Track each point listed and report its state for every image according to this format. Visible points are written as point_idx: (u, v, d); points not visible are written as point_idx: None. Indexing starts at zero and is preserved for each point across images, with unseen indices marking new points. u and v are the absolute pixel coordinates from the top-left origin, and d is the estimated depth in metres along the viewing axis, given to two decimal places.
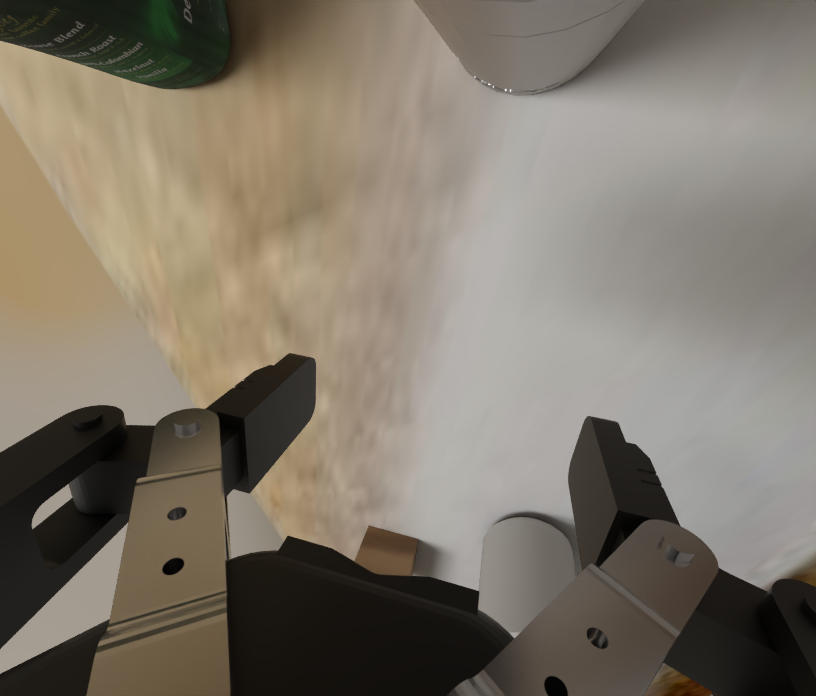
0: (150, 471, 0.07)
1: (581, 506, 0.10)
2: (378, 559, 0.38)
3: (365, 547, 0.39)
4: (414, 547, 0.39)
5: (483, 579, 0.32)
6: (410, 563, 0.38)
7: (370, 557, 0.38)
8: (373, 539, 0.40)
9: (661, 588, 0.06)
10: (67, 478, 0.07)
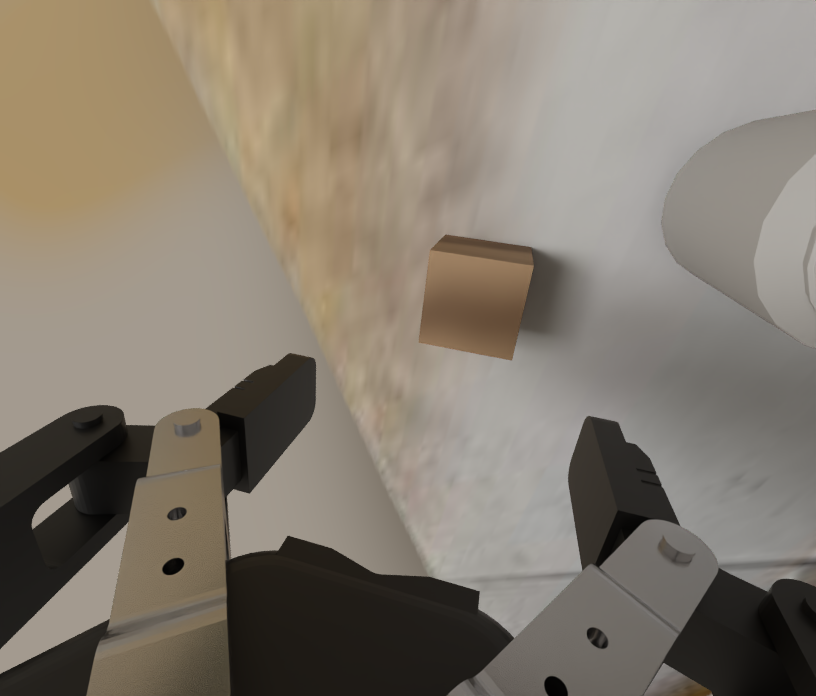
0: (150, 471, 0.07)
1: (581, 506, 0.10)
2: (474, 249, 0.22)
3: (447, 242, 0.23)
4: (528, 250, 0.23)
5: (718, 177, 0.16)
6: (530, 256, 0.22)
7: (459, 247, 0.22)
8: (457, 240, 0.23)
9: (662, 588, 0.06)
10: (67, 478, 0.07)
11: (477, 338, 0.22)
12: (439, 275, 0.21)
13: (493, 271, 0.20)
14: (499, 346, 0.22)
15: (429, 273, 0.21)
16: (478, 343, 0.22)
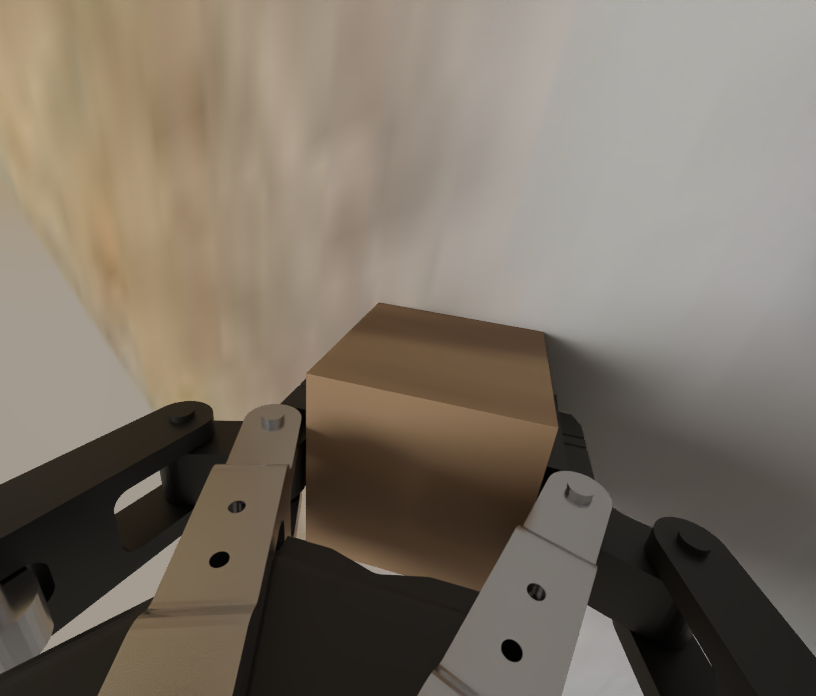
0: (230, 458, 0.08)
1: None
2: (420, 358, 0.10)
3: (368, 333, 0.11)
4: (540, 345, 0.11)
5: None
6: (544, 373, 0.10)
7: (388, 351, 0.10)
8: (393, 323, 0.12)
9: (574, 531, 0.07)
10: (151, 469, 0.08)
11: (427, 556, 0.10)
12: (334, 428, 0.09)
13: (458, 430, 0.08)
14: (476, 576, 0.10)
15: (311, 421, 0.09)
16: (430, 564, 0.10)
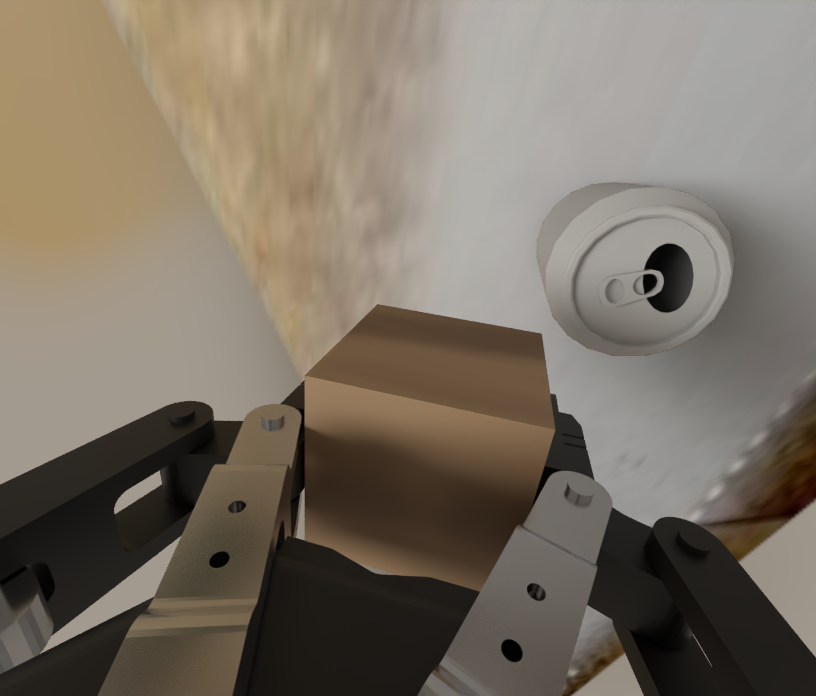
0: (230, 458, 0.08)
1: None
2: (418, 360, 0.10)
3: (367, 335, 0.11)
4: (538, 346, 0.11)
5: (548, 230, 0.23)
6: (542, 375, 0.10)
7: (386, 353, 0.10)
8: (392, 325, 0.12)
9: (574, 531, 0.07)
10: (151, 470, 0.08)
11: (425, 557, 0.10)
12: (332, 430, 0.09)
13: (455, 432, 0.08)
14: (474, 577, 0.10)
15: (310, 423, 0.09)
16: (428, 566, 0.10)
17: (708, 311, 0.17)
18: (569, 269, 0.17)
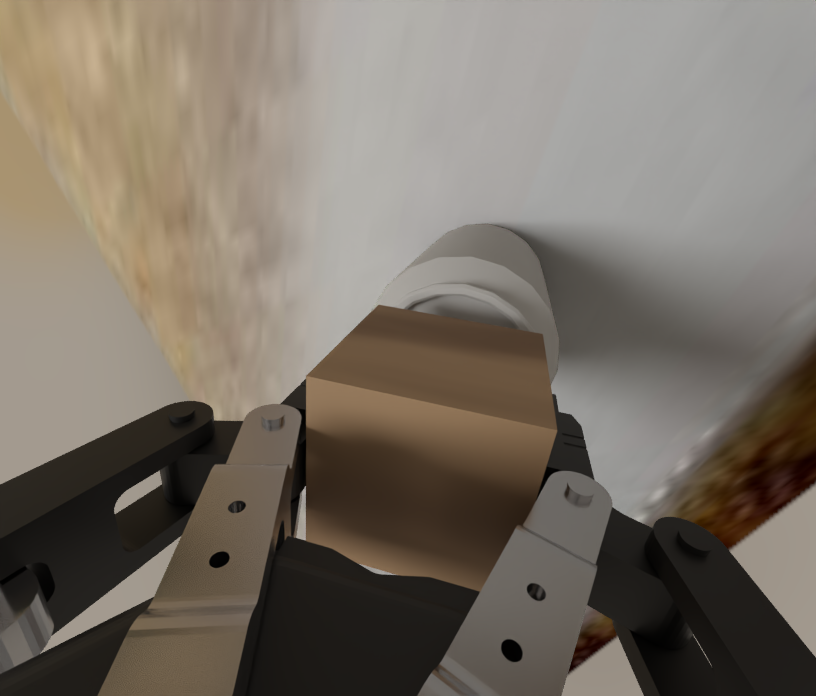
0: (230, 459, 0.08)
1: None
2: (420, 360, 0.10)
3: (368, 336, 0.11)
4: (539, 347, 0.11)
5: None
6: (543, 375, 0.10)
7: (388, 354, 0.10)
8: (393, 325, 0.12)
9: (574, 530, 0.07)
10: (151, 469, 0.08)
11: (427, 558, 0.10)
12: (334, 430, 0.09)
13: (457, 432, 0.08)
14: (475, 578, 0.10)
15: (311, 423, 0.09)
16: (429, 566, 0.10)
17: None
18: None
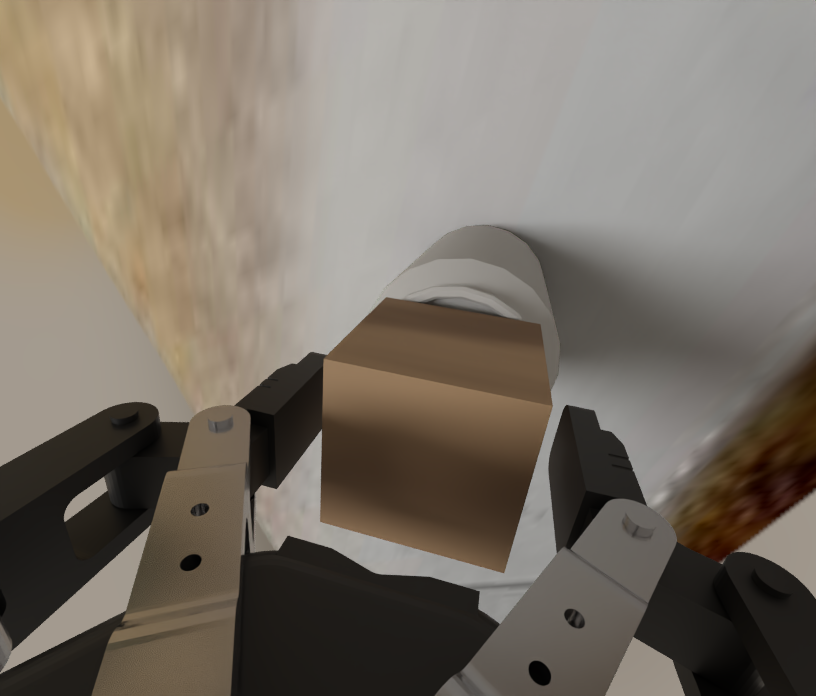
0: (180, 464, 0.08)
1: (557, 491, 0.11)
2: (427, 346, 0.11)
3: (377, 324, 0.12)
4: (537, 335, 0.12)
5: None
6: (541, 360, 0.11)
7: (397, 340, 0.11)
8: (400, 315, 0.12)
9: (627, 563, 0.07)
10: (100, 473, 0.08)
11: (433, 528, 0.11)
12: (348, 409, 0.10)
13: (462, 410, 0.09)
14: (478, 546, 0.10)
15: (327, 403, 0.10)
16: (435, 536, 0.11)
17: None
18: None
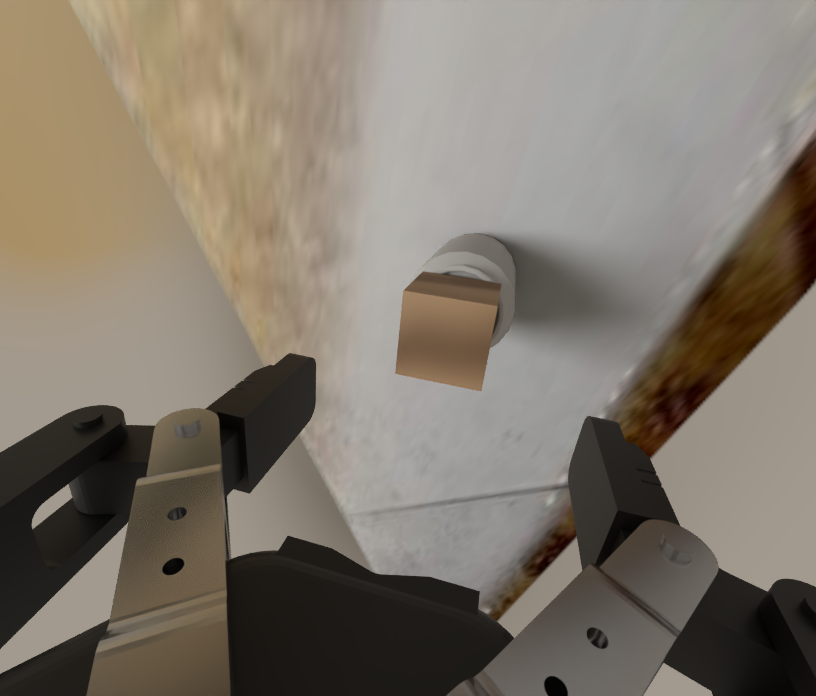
0: (149, 471, 0.07)
1: (581, 506, 0.10)
2: (446, 288, 0.23)
3: (422, 281, 0.24)
4: (498, 287, 0.25)
5: None
6: (497, 294, 0.23)
7: (432, 286, 0.24)
8: (432, 278, 0.25)
9: (661, 587, 0.06)
10: (67, 478, 0.07)
11: (449, 371, 0.23)
12: (412, 313, 0.23)
13: (461, 310, 0.22)
14: (469, 378, 0.23)
15: (403, 311, 0.23)
16: (450, 375, 0.23)
17: (495, 328, 0.27)
18: None
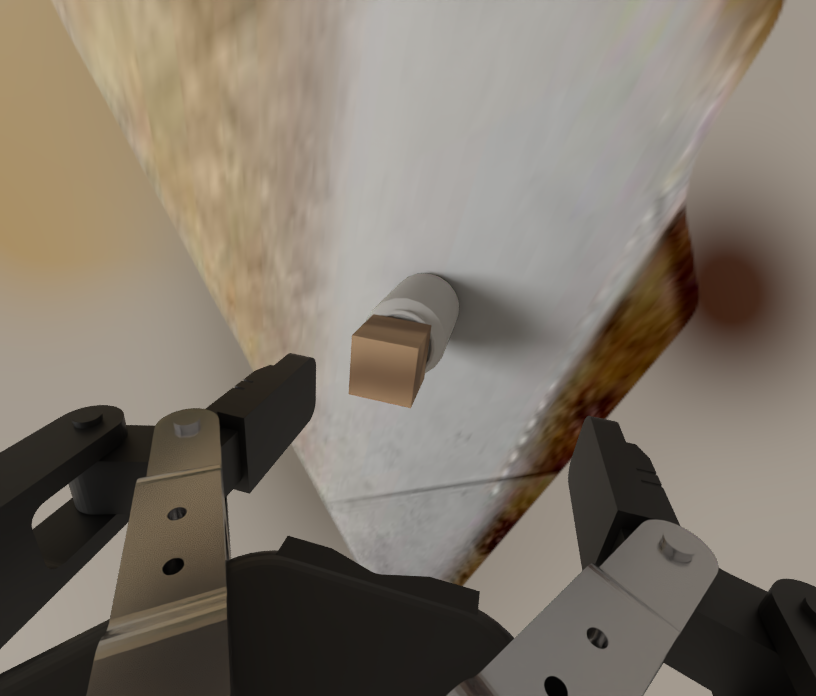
0: (150, 471, 0.07)
1: (581, 506, 0.10)
2: (385, 332, 0.32)
3: (369, 325, 0.33)
4: (427, 329, 0.33)
5: None
6: (423, 337, 0.32)
7: (375, 330, 0.32)
8: (378, 321, 0.34)
9: (661, 588, 0.06)
10: (67, 478, 0.07)
11: (387, 393, 0.32)
12: (359, 351, 0.31)
13: (393, 350, 0.30)
14: (401, 398, 0.32)
15: (352, 349, 0.31)
16: (388, 396, 0.32)
17: (428, 358, 0.36)
18: None
